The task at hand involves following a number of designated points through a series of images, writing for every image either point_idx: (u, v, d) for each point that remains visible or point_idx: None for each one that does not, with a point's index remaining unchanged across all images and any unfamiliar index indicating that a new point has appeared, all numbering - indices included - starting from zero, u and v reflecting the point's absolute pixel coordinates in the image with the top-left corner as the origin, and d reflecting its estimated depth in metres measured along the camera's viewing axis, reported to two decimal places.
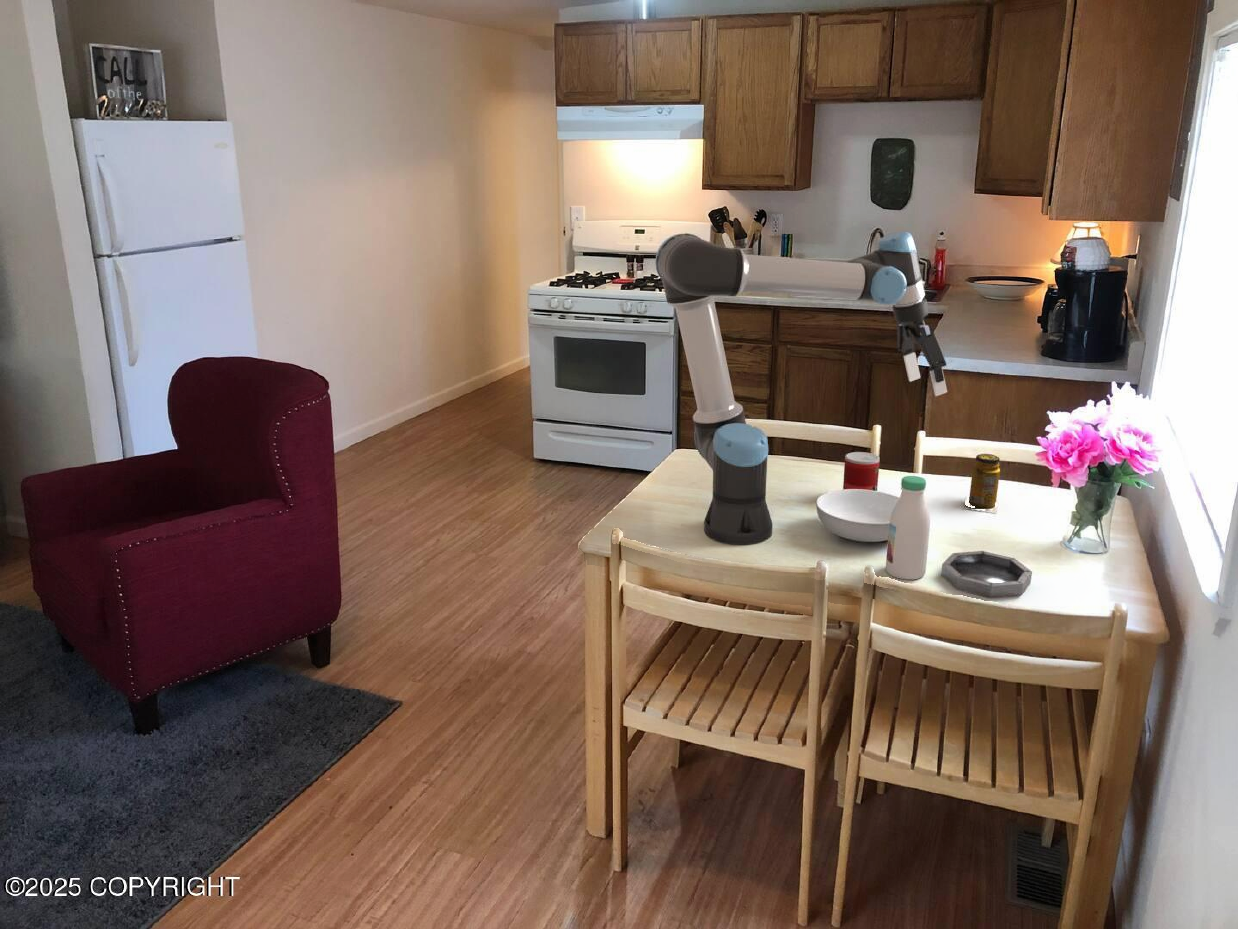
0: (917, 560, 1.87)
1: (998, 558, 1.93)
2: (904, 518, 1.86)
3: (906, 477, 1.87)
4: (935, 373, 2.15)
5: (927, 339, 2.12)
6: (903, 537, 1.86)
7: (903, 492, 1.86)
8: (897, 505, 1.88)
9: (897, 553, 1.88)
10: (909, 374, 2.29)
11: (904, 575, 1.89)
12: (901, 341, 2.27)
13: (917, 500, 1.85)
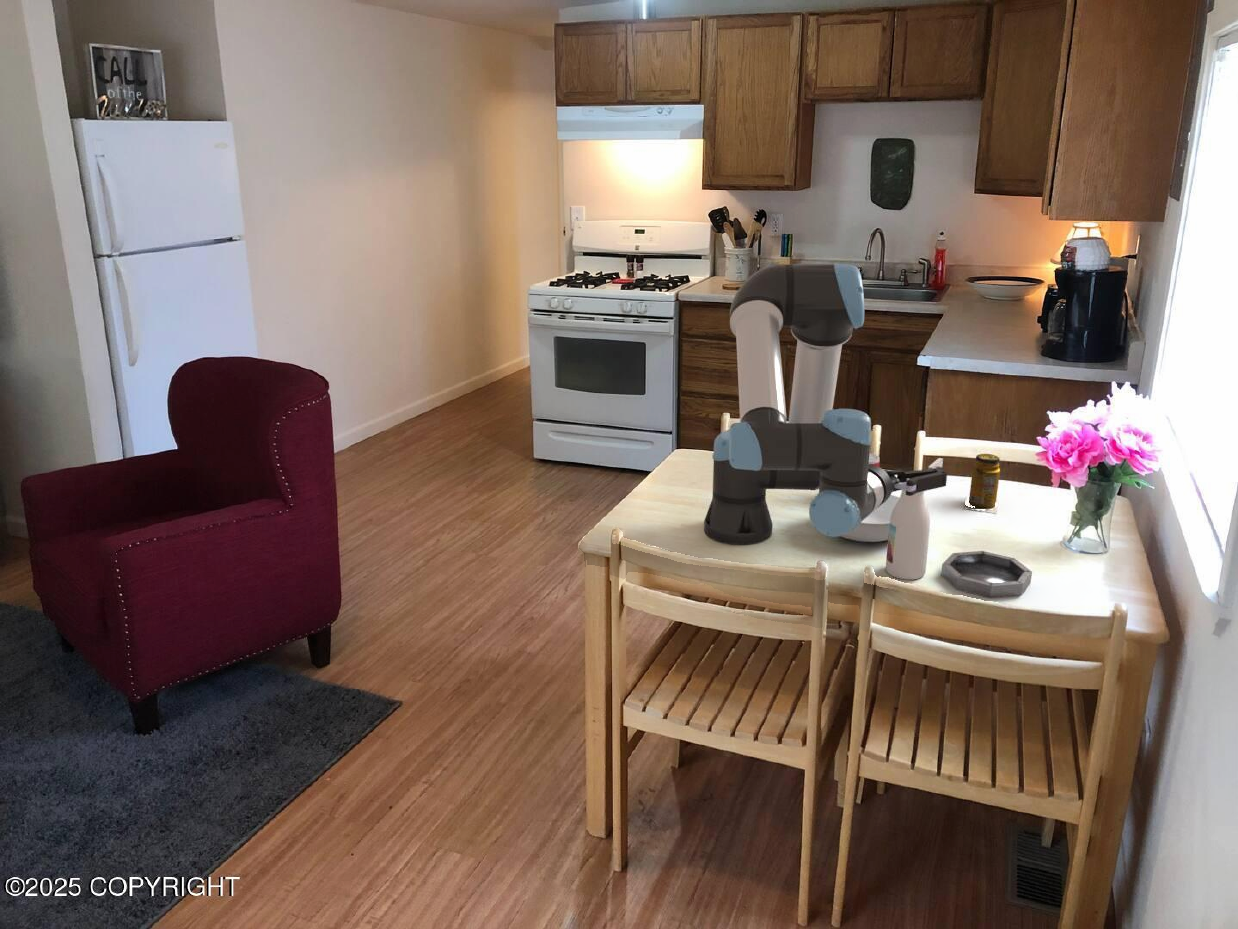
0: (917, 560, 1.87)
1: (998, 558, 1.93)
2: (904, 518, 1.86)
3: None
4: None
5: None
6: (903, 537, 1.86)
7: (903, 492, 1.86)
8: (897, 505, 1.88)
9: (897, 553, 1.88)
10: None
11: (904, 575, 1.89)
12: None
13: (917, 500, 1.85)
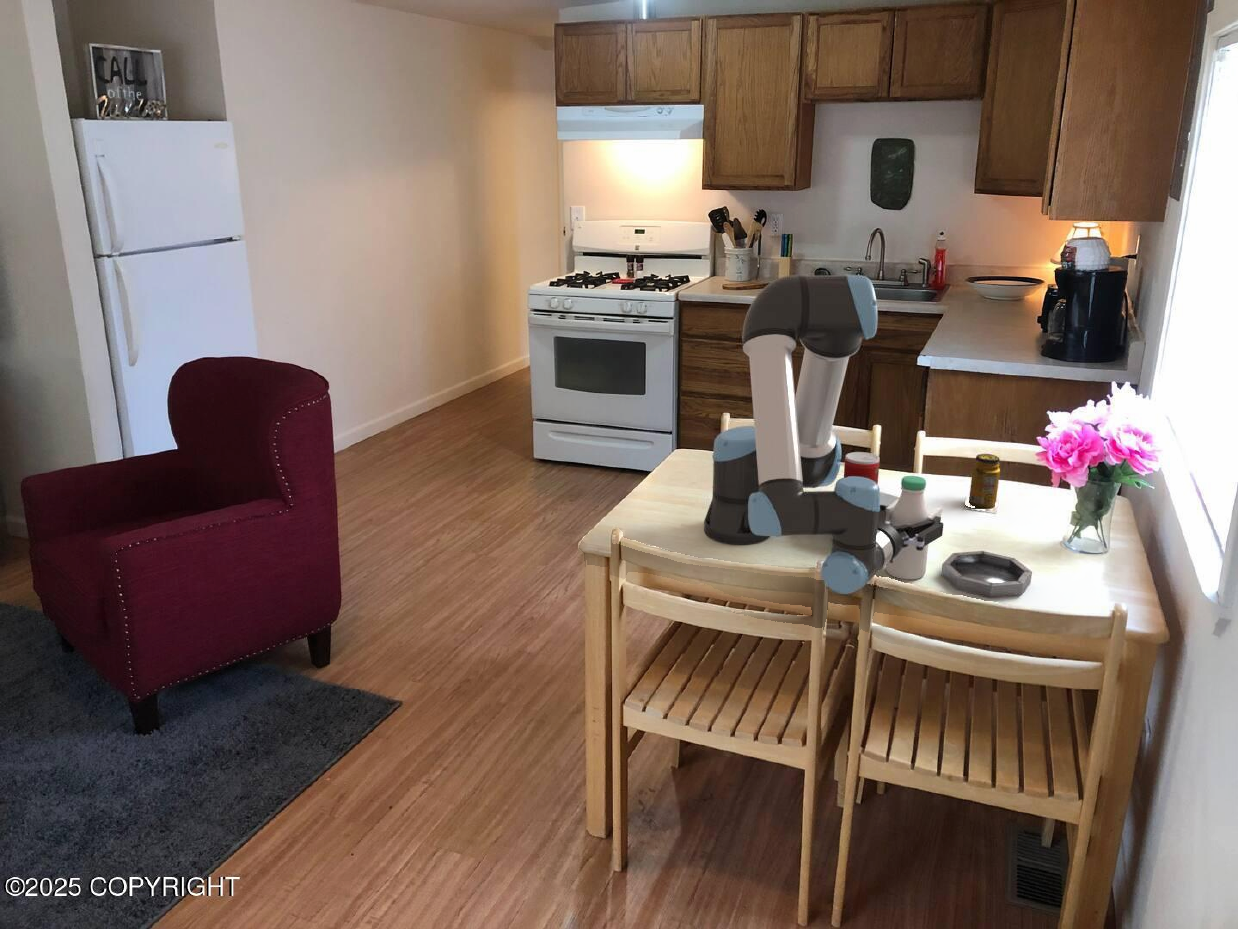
0: (917, 560, 1.87)
1: (998, 558, 1.93)
2: (904, 518, 1.86)
3: (906, 477, 1.87)
4: (886, 509, 1.91)
5: None
6: None
7: (903, 492, 1.86)
8: (897, 505, 1.88)
9: None
10: None
11: (904, 575, 1.89)
12: None
13: (917, 500, 1.85)
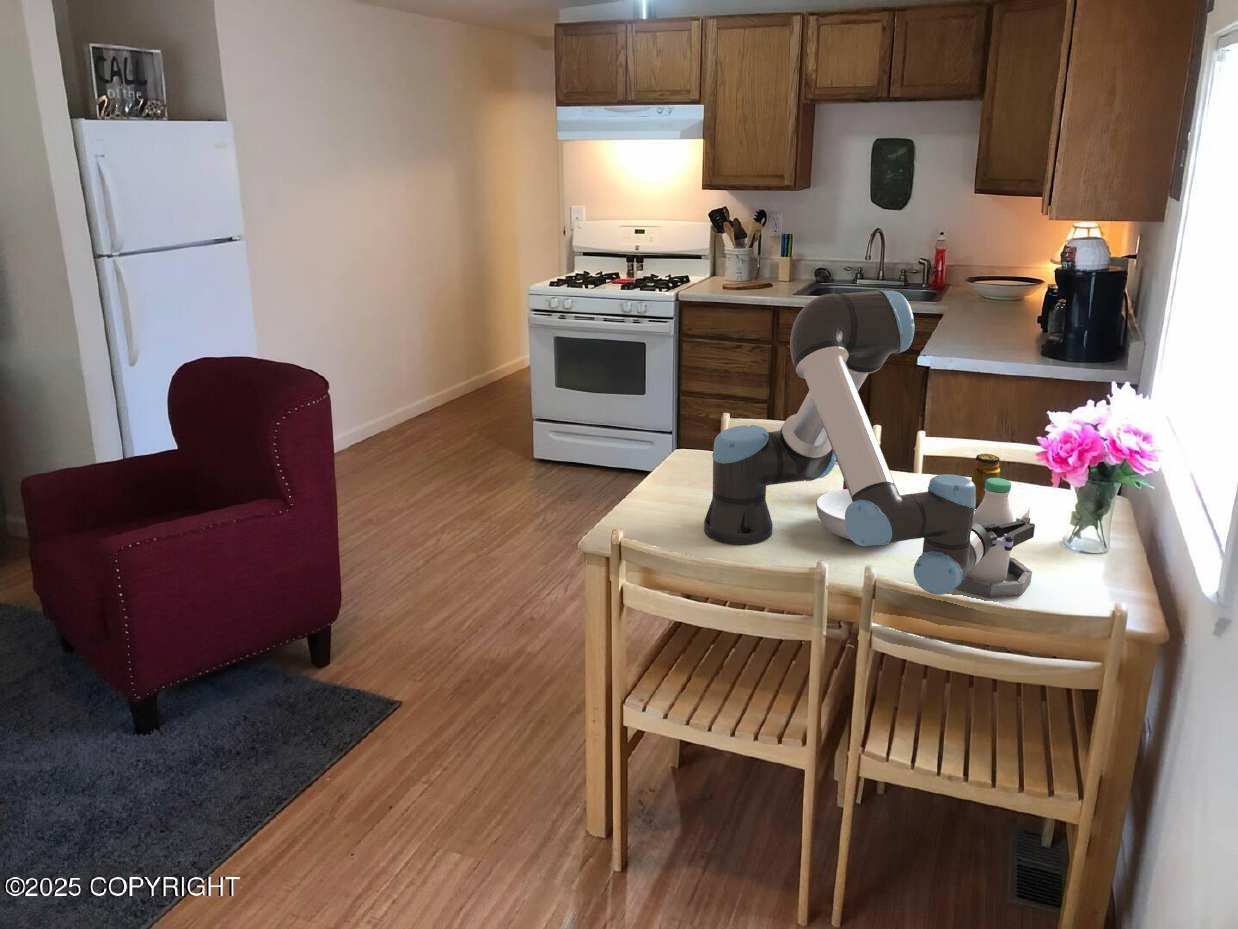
0: (1000, 563, 1.84)
1: None
2: (988, 521, 1.82)
3: (990, 479, 1.83)
4: None
5: None
6: None
7: (987, 494, 1.83)
8: (980, 507, 1.84)
9: None
10: None
11: (986, 579, 1.85)
12: None
13: (1002, 502, 1.81)
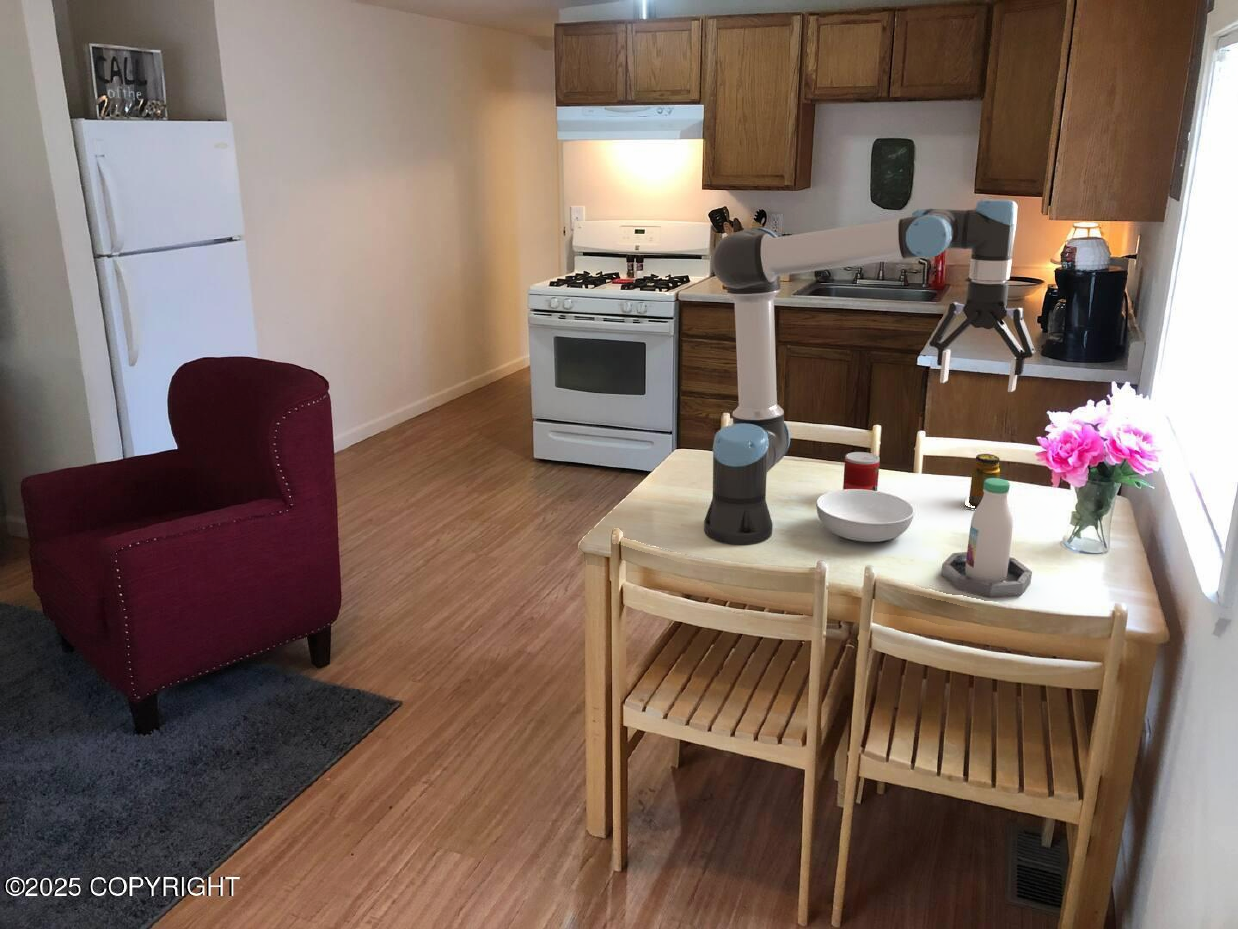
0: (1000, 564, 1.84)
1: None
2: (987, 521, 1.82)
3: (989, 479, 1.83)
4: (1017, 365, 1.88)
5: (1021, 323, 1.86)
6: (986, 541, 1.83)
7: (986, 495, 1.83)
8: (979, 508, 1.84)
9: (979, 557, 1.84)
10: (944, 374, 1.97)
11: (986, 580, 1.85)
12: (942, 334, 1.95)
13: (1000, 503, 1.81)
